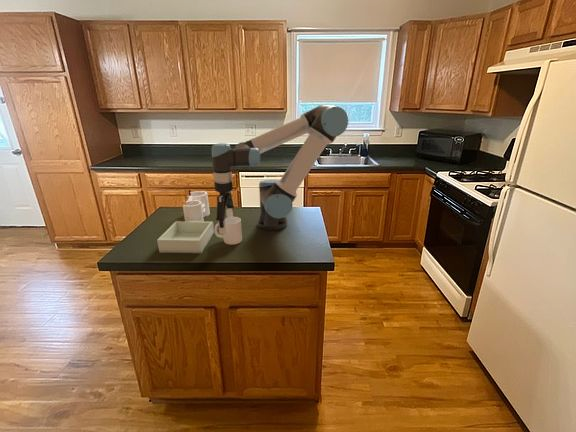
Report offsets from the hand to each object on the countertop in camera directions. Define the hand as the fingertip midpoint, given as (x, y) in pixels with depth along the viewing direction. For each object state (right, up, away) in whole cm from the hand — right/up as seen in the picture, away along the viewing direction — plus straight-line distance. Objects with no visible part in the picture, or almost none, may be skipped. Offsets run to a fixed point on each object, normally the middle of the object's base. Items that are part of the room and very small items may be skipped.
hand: (226, 227), depth 138 cm
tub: (-18, -7, +2) cm, 19 cm away
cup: (+1, -6, +3) cm, 7 cm away
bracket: (-20, +3, +27) cm, 34 cm away
